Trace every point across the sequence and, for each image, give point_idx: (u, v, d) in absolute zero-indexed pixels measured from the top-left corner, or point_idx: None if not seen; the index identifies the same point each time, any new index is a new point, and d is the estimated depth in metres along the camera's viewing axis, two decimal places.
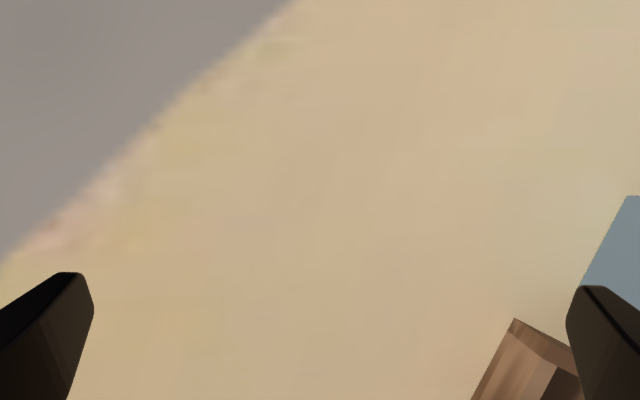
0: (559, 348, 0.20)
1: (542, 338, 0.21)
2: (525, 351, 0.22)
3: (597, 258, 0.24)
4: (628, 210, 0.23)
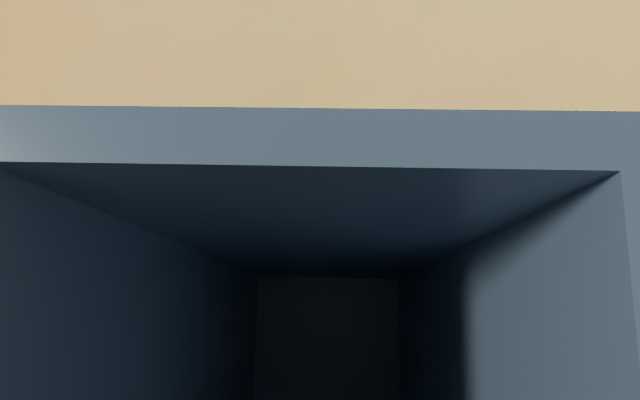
0: None
1: None
2: None
3: None
4: None
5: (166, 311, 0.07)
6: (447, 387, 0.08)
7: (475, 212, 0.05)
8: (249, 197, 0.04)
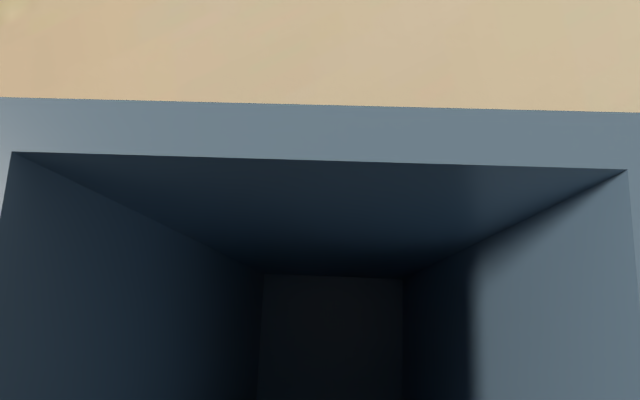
0: None
1: None
2: None
3: None
4: None
5: (176, 304, 0.07)
6: (451, 384, 0.08)
7: (484, 209, 0.05)
8: (265, 191, 0.05)
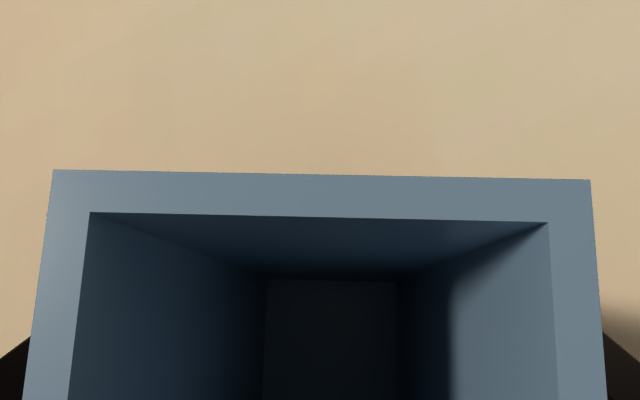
0: None
1: None
2: None
3: None
4: None
5: (198, 315, 0.09)
6: (436, 380, 0.10)
7: (452, 241, 0.06)
8: (278, 231, 0.06)
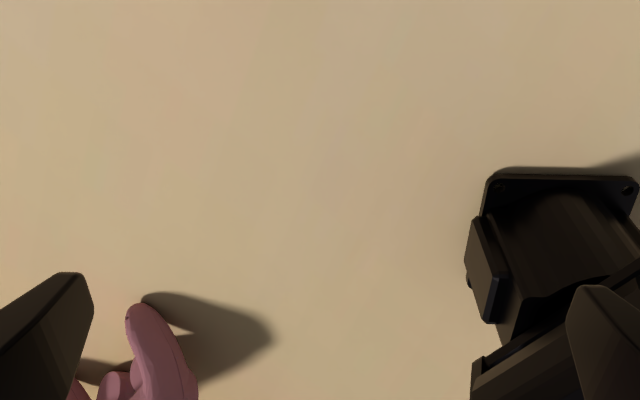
0: None
1: None
2: None
3: None
4: None
5: None
6: None
7: None
8: None
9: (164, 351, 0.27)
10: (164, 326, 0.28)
